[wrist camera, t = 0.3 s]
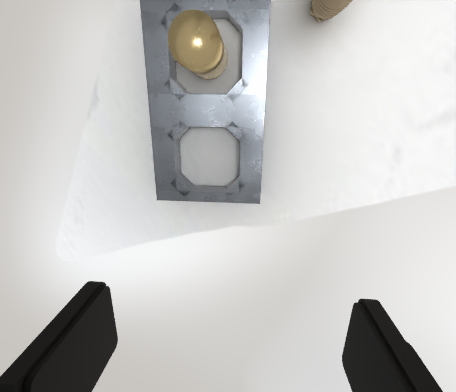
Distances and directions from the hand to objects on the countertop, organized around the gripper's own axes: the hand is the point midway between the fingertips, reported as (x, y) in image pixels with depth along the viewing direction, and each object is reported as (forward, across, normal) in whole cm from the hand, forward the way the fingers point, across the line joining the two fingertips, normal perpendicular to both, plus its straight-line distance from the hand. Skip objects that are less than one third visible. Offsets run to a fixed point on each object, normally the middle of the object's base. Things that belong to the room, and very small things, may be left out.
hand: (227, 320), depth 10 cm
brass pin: (+30, +5, -14) cm, 33 cm away
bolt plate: (+30, +5, -7) cm, 31 cm away
